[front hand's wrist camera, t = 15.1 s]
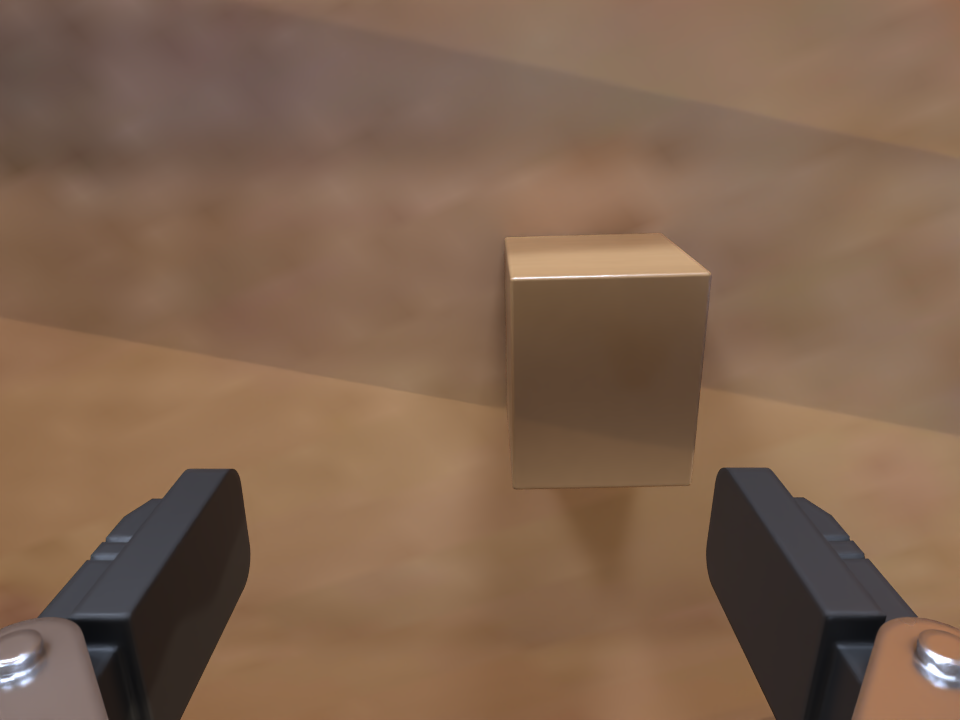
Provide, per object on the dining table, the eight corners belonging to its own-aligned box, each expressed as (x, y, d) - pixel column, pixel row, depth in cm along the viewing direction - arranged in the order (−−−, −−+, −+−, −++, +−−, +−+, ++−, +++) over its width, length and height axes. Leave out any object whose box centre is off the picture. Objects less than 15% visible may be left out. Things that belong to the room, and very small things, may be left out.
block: (504, 236, 18) (510, 277, 14) (662, 232, 18) (713, 272, 14) (506, 411, 20) (512, 490, 16) (650, 407, 19) (691, 487, 16)
